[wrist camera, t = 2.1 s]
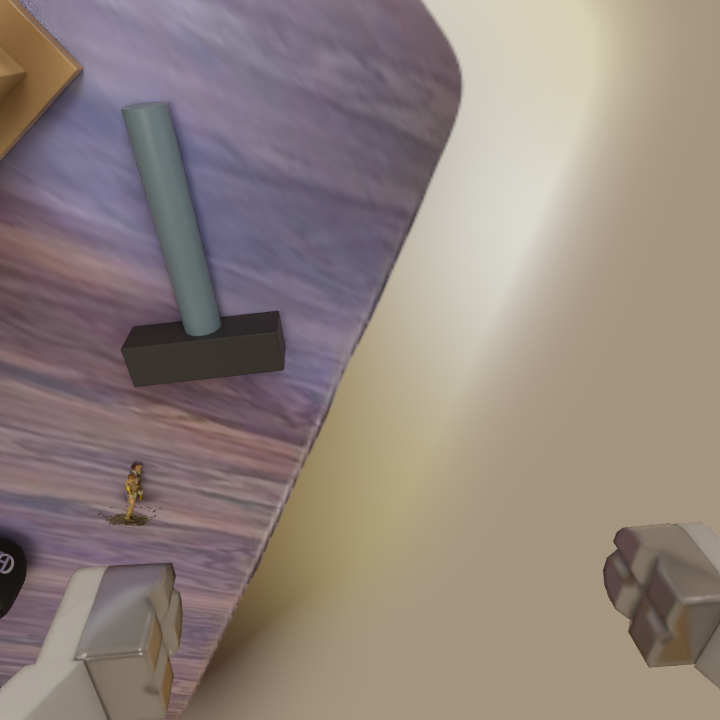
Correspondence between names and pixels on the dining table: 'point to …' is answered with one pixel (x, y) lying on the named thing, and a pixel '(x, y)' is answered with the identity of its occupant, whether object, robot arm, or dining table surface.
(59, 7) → the dining table surface
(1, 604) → the mug
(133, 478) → the soldier figurine
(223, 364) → the hammer
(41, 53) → the stand
